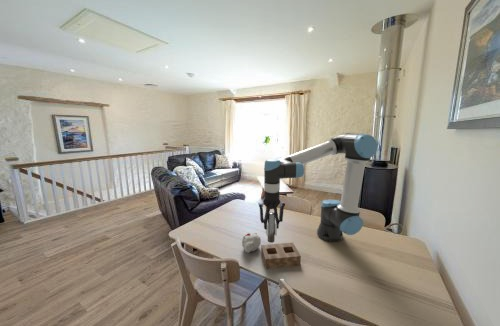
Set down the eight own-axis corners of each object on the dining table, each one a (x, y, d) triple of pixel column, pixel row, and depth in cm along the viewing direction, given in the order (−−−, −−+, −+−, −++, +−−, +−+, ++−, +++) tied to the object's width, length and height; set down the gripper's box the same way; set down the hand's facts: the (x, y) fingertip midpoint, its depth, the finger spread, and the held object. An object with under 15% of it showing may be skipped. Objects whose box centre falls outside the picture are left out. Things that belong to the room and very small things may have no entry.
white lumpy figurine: (246, 257, 108) (238, 245, 122) (265, 252, 112) (255, 241, 126) (245, 241, 107) (237, 230, 121) (264, 236, 111) (254, 227, 125)
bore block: (292, 250, 114) (293, 242, 113) (300, 264, 102) (300, 256, 101) (261, 253, 112) (261, 245, 111) (265, 268, 100) (265, 259, 99)
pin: (273, 238, 106) (274, 211, 104) (275, 242, 103) (275, 214, 100) (266, 238, 106) (267, 212, 103) (268, 242, 103) (268, 215, 100)
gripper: (286, 187, 104) (284, 229, 108) (254, 189, 102) (254, 231, 107) (290, 192, 97) (289, 237, 101) (256, 193, 95) (256, 239, 99)
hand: (271, 234), depth 104 cm, fingers closed on pin, 3 cm apart
